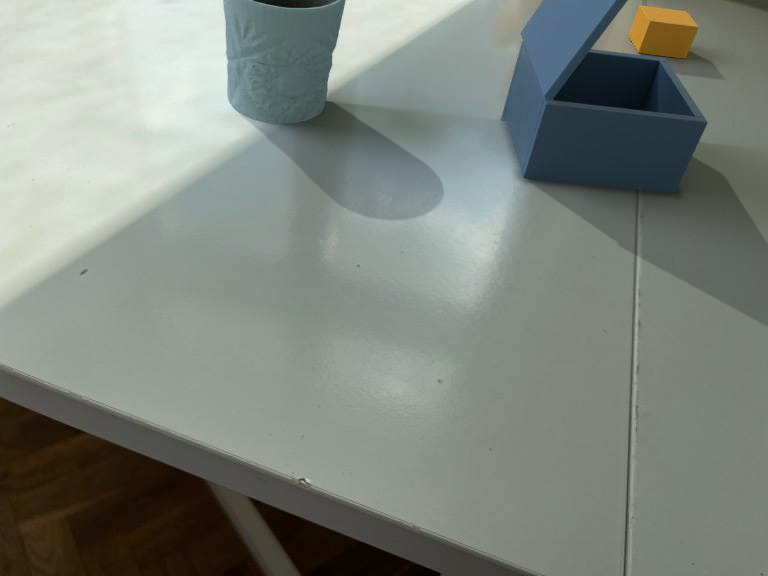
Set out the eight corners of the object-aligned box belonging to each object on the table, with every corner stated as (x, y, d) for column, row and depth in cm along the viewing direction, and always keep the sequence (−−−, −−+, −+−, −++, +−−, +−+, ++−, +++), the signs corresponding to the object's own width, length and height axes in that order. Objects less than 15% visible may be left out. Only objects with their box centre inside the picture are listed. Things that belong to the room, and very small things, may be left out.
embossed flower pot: (254, 74, 76) (258, -53, 68) (350, 104, 74) (366, -22, 66) (200, 119, 68) (197, -17, 61) (305, 154, 67) (317, 18, 59)
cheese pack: (674, 42, 97) (686, 11, 94) (685, 59, 94) (699, 27, 91) (627, 36, 96) (639, 5, 94) (637, 53, 93) (650, 20, 90)
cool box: (633, 136, 78) (665, 57, 72) (669, 205, 69) (708, 122, 63) (500, 121, 76) (522, 40, 70) (519, 190, 67) (546, 104, 62)
